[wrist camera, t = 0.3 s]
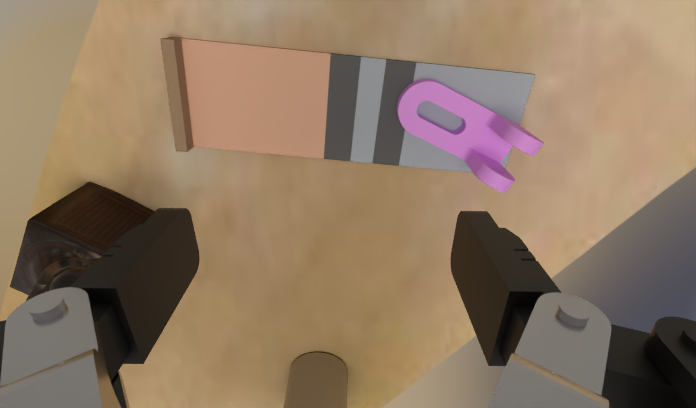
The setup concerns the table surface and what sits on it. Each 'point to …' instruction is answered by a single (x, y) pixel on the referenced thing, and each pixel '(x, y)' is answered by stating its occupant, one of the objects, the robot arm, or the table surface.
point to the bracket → (466, 131)
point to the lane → (319, 102)
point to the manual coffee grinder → (72, 237)
